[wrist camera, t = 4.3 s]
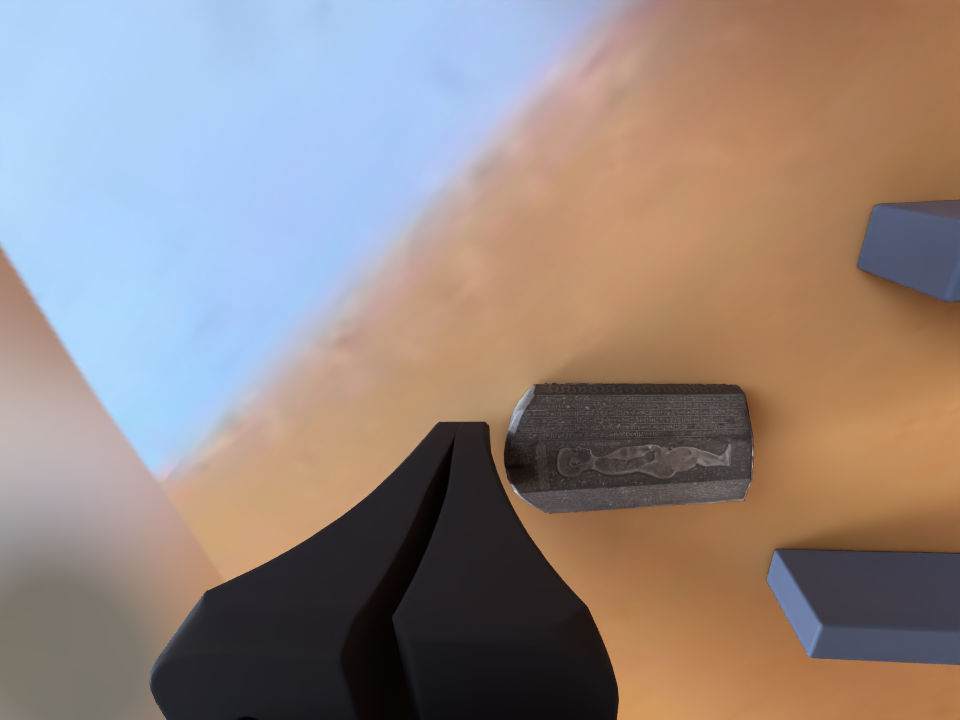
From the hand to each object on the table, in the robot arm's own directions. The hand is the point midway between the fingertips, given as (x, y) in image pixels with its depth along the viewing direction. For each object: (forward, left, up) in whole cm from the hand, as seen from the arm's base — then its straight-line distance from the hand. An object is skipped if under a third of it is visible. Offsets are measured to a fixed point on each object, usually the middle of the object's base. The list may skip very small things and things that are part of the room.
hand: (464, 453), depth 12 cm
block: (0, -4, -1) cm, 4 cm away
